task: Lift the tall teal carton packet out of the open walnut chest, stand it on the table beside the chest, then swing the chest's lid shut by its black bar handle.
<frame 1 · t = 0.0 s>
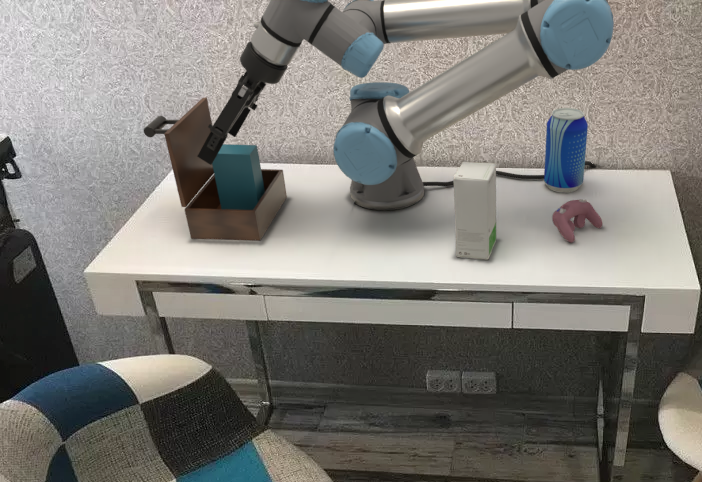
hand: (217, 145, 147), 15 cm above the table, tool tilted 35°, fingers open, 13 cm apart
packet: (246, 216, 156), point 1 cm above the table, touching chest
lid: (176, 150, 149), point 14 cm above the table, hinge at 90.0°
video game controller: (576, 232, 152), on the table
chest: (241, 219, 156), on the table
cosmetic box: (475, 249, 147), on the table
beer can: (563, 186, 170), on the table
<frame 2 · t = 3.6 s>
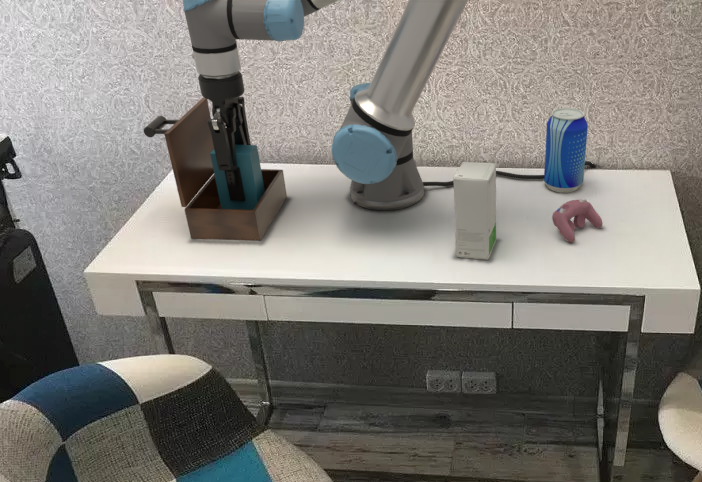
hand: (242, 193, 153), 6 cm above the table, tool pointing down, fingers closed on packet, 5 cm apart
packet: (246, 216, 156), point 1 cm above the table, touching chest, gripper
everything else where it was.
when the fingers open (5 cm above the table, at t = 11.4 s): packet stays where it is, on the table.
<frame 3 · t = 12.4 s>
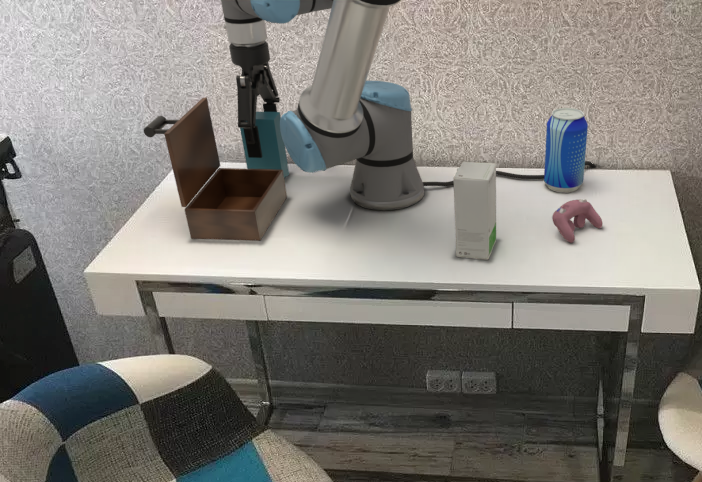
hand: (265, 144, 168), 8 cm above the table, tool pointing down, fingers open, 13 cm apart
packet: (269, 177, 173), on the table
everything else where it was.
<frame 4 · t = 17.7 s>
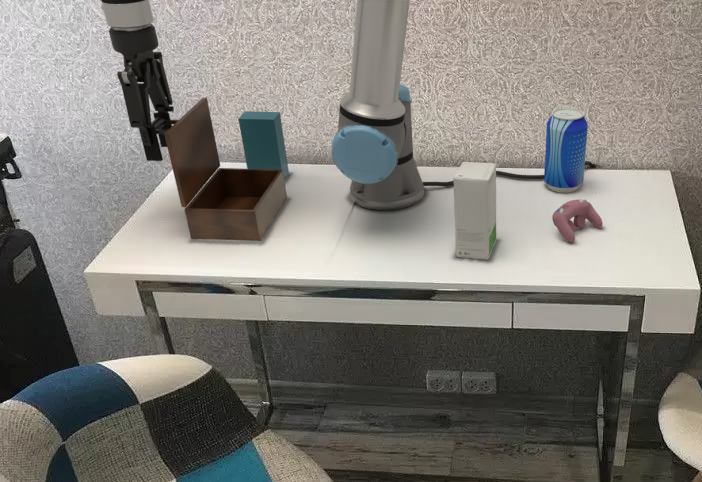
hand: (162, 152, 149), 13 cm above the table, tool pointing down, fingers closed on lid, 6 cm apart
lid: (176, 150, 149), point 14 cm above the table, hinge at 90.0°, touching gripper
everything else where it was.
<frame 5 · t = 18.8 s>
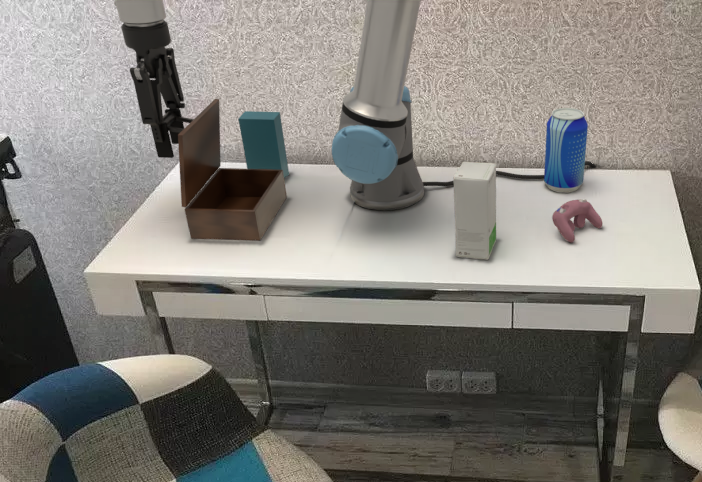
hand: (173, 149, 149), 14 cm above the table, tool pointing down, fingers closed on lid, 6 cm apart
lid: (182, 148, 148), point 15 cm above the table, hinge at 80.1°, touching gripper
everything else where it was.
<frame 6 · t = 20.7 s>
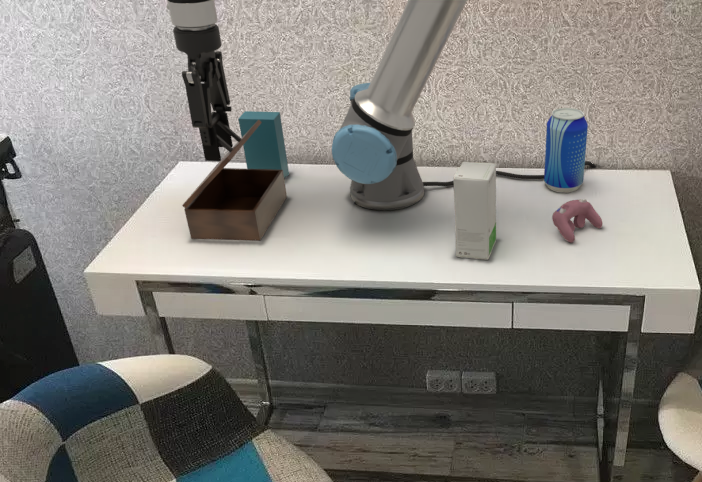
hand: (219, 153, 148), 14 cm above the table, tool pointing down, fingers closed on lid, 6 cm apart
lid: (208, 149, 148), point 14 cm above the table, hinge at 43.4°, touching gripper
everything else where it was.
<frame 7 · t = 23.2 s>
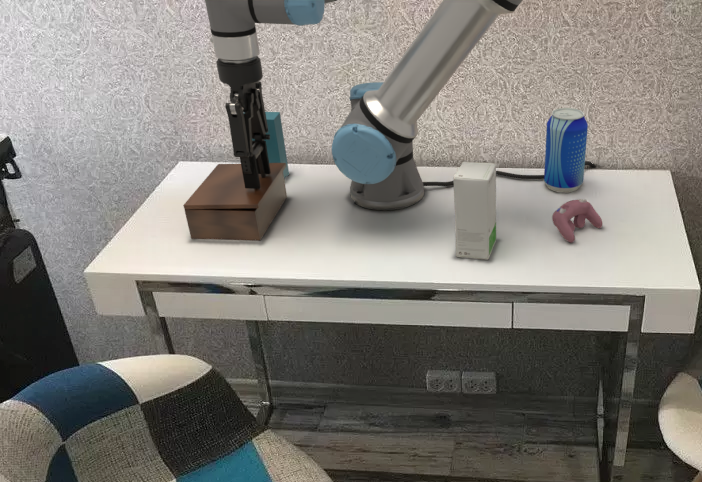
hand: (258, 180, 151), 8 cm above the table, tool pointing down, fingers open, 6 cm apart
lid: (233, 167, 150), point 11 cm above the table, hinge at 2.6°
everything else where it was.
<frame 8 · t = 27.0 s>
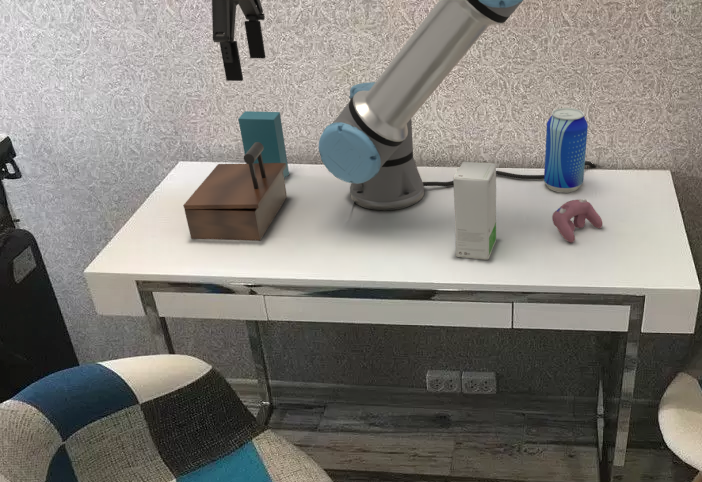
hand: (246, 68, 142), 29 cm above the table, tool pointing down, fingers open, 13 cm apart
nothing on the table moved.
at the end: packet inside the target area (0.2 cm from its centre), on the table; packet tilted 0°; lid at +2° (first picture: +90°) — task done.
